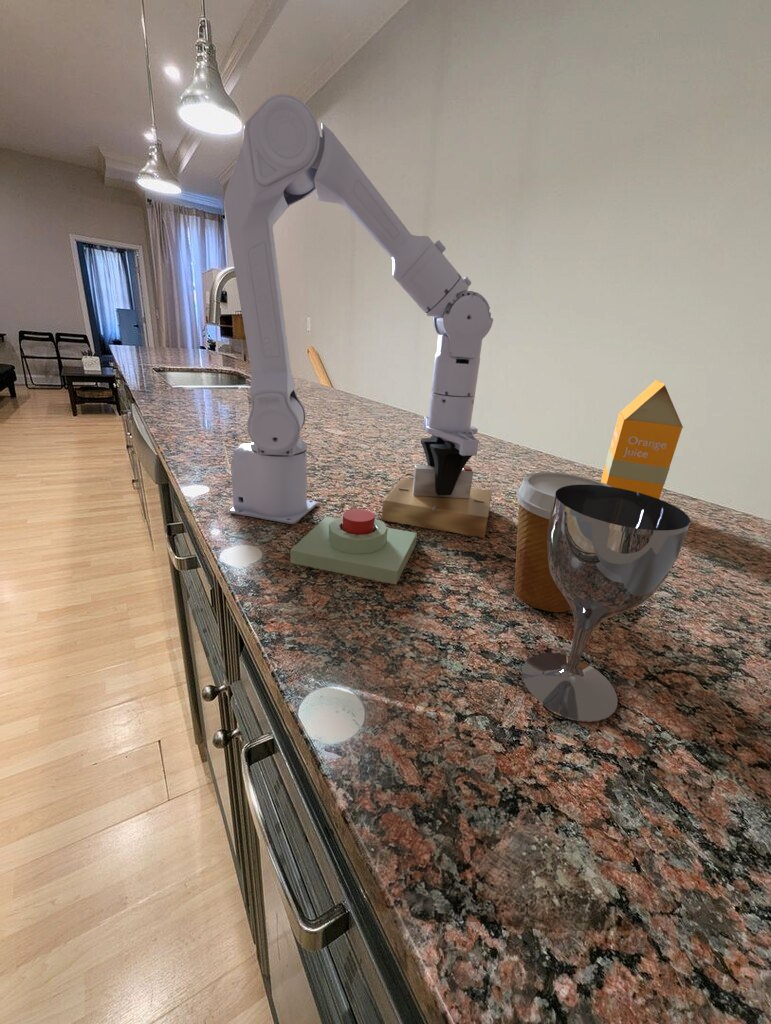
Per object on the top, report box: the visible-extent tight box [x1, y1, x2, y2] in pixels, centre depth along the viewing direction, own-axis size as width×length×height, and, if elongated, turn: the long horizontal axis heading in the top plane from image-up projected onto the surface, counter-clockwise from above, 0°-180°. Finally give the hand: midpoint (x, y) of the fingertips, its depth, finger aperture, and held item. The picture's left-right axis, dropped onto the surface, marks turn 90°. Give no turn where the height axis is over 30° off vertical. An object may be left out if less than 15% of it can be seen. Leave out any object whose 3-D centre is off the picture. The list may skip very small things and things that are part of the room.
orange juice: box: [600, 379, 684, 499], centre depth 69 cm, size 8×9×20 cm
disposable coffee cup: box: [513, 471, 611, 613], centre depth 44 cm, size 10×10×12 cm
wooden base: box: [381, 477, 493, 538], centre depth 64 cm, size 14×12×3 cm
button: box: [342, 508, 376, 535], centre depth 50 cm, size 4×4×2 cm
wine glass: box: [521, 485, 691, 723], centre depth 32 cm, size 8×8×15 cm
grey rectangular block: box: [412, 464, 474, 499], centre depth 63 cm, size 8×2×4 cm, turn 91°
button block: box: [289, 516, 418, 585], centre depth 51 cm, size 12×10×4 cm
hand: (440, 491), depth 63 cm, fingers closed on grey rectangular block, 2 cm apart
